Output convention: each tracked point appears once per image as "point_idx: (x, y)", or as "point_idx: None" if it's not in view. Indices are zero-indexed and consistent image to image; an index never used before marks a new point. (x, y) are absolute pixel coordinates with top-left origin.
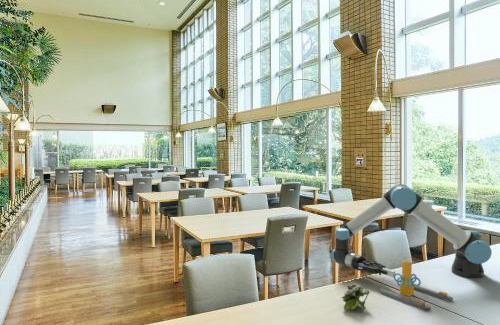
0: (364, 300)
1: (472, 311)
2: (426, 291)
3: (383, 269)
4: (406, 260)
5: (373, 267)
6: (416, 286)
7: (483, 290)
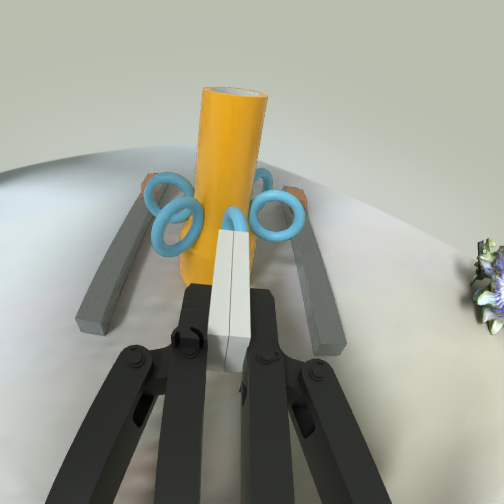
0: (480, 266)
1: (193, 158)
2: (144, 223)
3: (249, 321)
4: (212, 91)
5: (286, 451)
6: (121, 253)
7: (26, 175)
